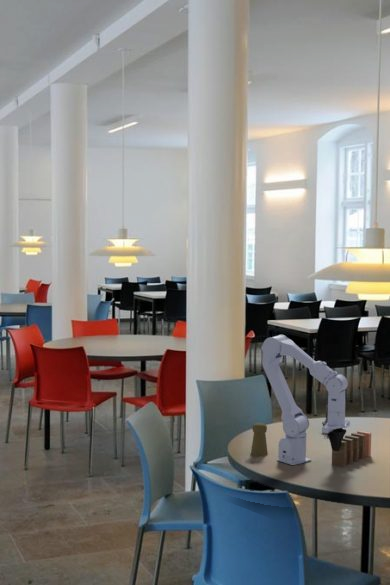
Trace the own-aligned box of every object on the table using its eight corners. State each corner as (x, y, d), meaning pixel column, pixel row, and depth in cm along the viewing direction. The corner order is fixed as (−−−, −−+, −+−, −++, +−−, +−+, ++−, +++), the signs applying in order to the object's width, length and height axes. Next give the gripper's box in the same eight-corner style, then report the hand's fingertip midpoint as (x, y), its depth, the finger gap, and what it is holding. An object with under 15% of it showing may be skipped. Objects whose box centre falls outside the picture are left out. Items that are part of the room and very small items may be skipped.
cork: (266, 451, 298) (267, 421, 297) (268, 456, 292) (269, 425, 291) (250, 451, 298) (250, 421, 297) (251, 456, 291) (252, 425, 291)
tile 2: (350, 464, 282) (350, 440, 282) (338, 461, 285) (338, 437, 285) (352, 463, 283) (353, 439, 283) (340, 460, 287) (341, 437, 286)
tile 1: (344, 467, 279) (344, 442, 278) (331, 464, 282) (332, 440, 281) (346, 466, 280) (346, 441, 280) (334, 463, 283) (334, 439, 283)
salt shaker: (319, 432, 326) (320, 402, 325) (324, 429, 331) (325, 400, 330) (334, 434, 323) (334, 404, 322) (338, 431, 328) (339, 401, 327)
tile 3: (356, 461, 285) (357, 438, 285) (344, 459, 288) (344, 435, 288) (358, 460, 287) (359, 437, 286) (346, 458, 290) (347, 434, 289)
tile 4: (362, 459, 289) (363, 435, 288) (350, 456, 292) (351, 433, 291) (364, 458, 290) (365, 435, 289) (352, 455, 293) (353, 432, 292)
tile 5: (368, 456, 292) (369, 433, 291) (356, 454, 295) (357, 431, 294) (370, 456, 293) (371, 432, 292) (358, 453, 296) (359, 430, 295)
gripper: (335, 416, 270) (334, 456, 271) (357, 409, 281) (356, 448, 282) (317, 412, 274) (316, 453, 275) (339, 406, 285) (339, 444, 286)
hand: (335, 450), depth 279 cm, fingers closed
